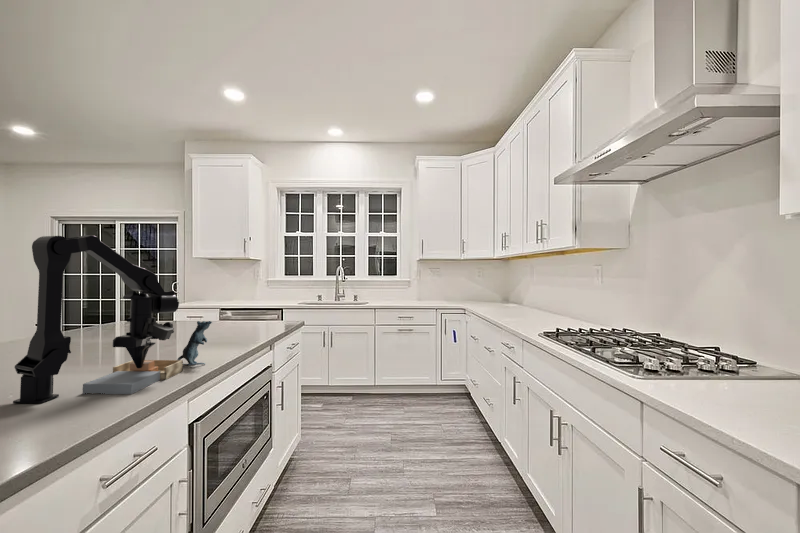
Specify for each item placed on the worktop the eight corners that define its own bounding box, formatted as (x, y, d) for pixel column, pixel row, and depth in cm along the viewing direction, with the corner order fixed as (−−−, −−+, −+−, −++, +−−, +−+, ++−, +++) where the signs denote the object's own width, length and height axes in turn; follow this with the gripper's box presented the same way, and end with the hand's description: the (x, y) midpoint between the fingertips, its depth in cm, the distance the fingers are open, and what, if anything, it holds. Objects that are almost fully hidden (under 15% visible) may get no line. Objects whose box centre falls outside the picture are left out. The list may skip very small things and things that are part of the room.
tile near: (148, 370, 133) (148, 363, 133) (129, 370, 133) (129, 363, 133) (154, 367, 138) (154, 360, 138) (136, 367, 137) (136, 360, 138)
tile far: (151, 376, 134) (151, 369, 134) (133, 376, 134) (133, 369, 134) (158, 373, 139) (158, 366, 139) (140, 373, 139) (140, 366, 139)
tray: (165, 379, 133) (166, 367, 133) (112, 379, 132) (112, 367, 132) (182, 371, 145) (182, 360, 145) (133, 370, 144) (134, 359, 144)
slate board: (131, 394, 116) (131, 384, 116) (82, 393, 116) (82, 384, 116) (159, 379, 132) (160, 371, 132) (117, 379, 132) (117, 371, 132)
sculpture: (203, 367, 151) (205, 322, 152) (171, 366, 151) (173, 321, 152) (214, 362, 160) (215, 320, 160) (183, 362, 160) (185, 319, 160)
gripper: (155, 317, 124) (152, 374, 123) (182, 312, 143) (181, 362, 142) (112, 316, 123) (110, 374, 123) (146, 312, 142) (144, 362, 141)
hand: (139, 368), depth 132 cm, fingers closed
